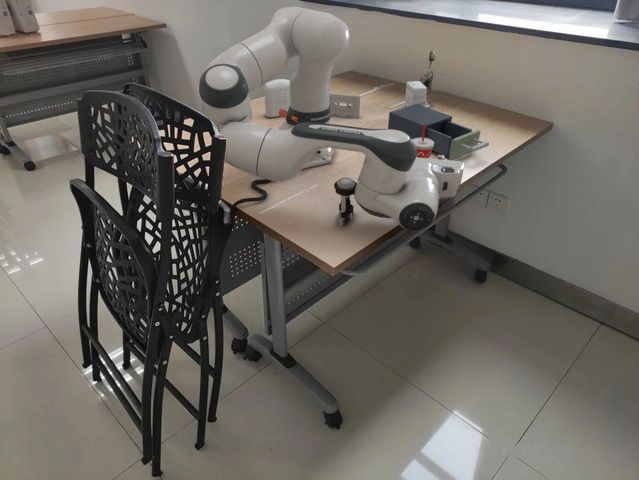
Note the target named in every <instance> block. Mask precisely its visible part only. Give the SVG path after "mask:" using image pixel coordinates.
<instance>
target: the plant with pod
mask: <svg viewBox="0 0 639 480" xmlns="http://www.w3.org/2000/svg"><path fill="white" fill-rule="evenodd" d="M435 60H436V53H435V51H434V50H431V51H430V52H429V58H428V61H429V68H428V69H427V70H425V71H424V72H423V73H422V74H421V76H420V77H419V78H418V80H417V81H420V82H421V83H422V84H423V85H424V86H425V87H426V88H427V93H426V97H428V95H429V94H430V92H431V90H432V86H433V85H432V84H433V80H434V72H433V71H434V70H431V66H432V64H433V62H434V61H435ZM431 106H432V103H431V102H430V101H429V100H426V103H425V107H427V108H430V107H431Z"/></svg>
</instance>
